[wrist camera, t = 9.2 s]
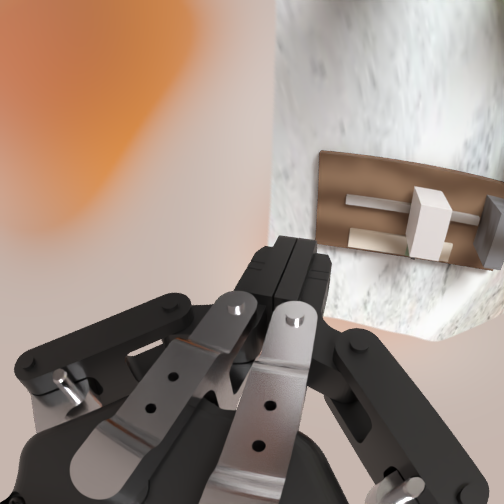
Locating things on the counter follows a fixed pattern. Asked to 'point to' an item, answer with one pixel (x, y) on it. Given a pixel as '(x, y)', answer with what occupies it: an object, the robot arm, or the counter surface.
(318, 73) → the counter surface
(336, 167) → the base
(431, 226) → the block
